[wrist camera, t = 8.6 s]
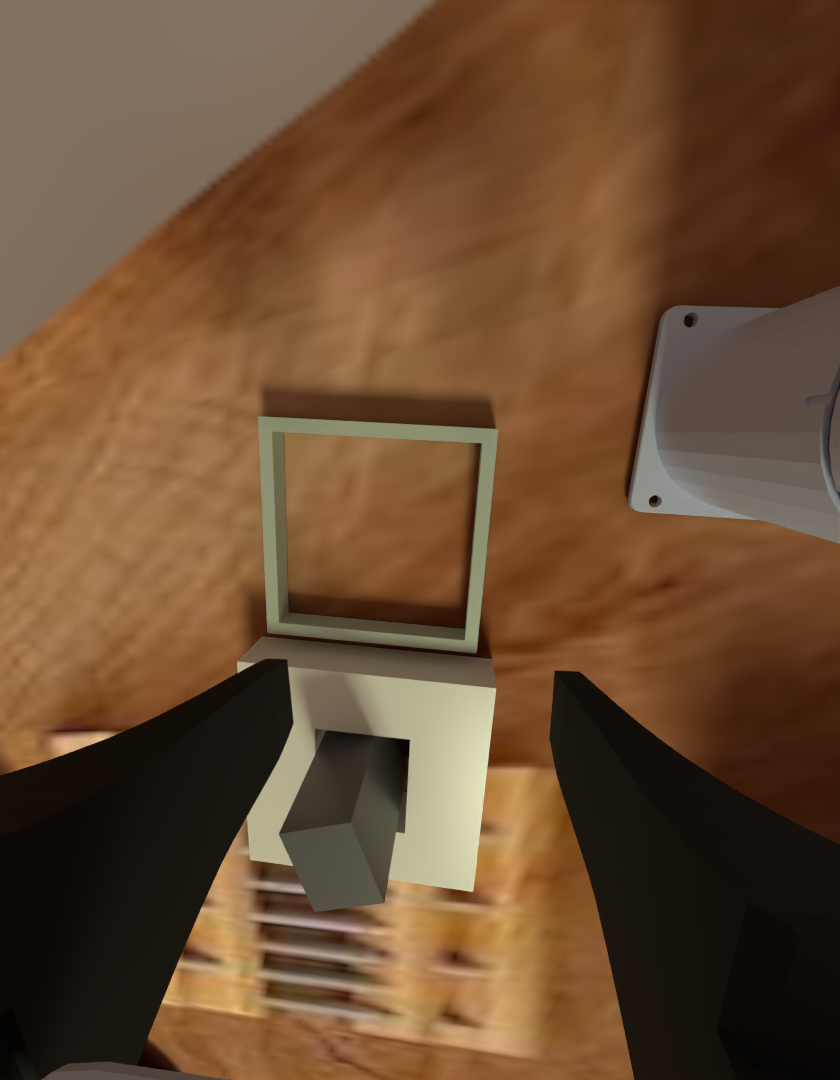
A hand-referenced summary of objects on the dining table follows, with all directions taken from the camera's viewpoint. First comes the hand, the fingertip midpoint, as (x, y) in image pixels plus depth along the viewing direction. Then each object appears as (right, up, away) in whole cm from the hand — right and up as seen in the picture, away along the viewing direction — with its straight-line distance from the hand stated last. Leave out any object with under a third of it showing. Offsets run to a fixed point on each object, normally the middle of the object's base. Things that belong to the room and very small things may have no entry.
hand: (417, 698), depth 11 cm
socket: (-3, -7, +12) cm, 14 cm away
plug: (-3, -7, +12) cm, 14 cm away
